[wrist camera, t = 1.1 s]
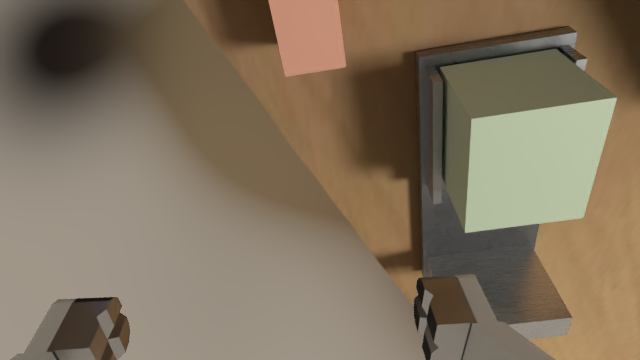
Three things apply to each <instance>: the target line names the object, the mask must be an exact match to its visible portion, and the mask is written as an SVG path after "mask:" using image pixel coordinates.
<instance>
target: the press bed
mask: <svg viewBox="0 0 640 360" xmlns="http://www.w3.org/2000/svg"><path fill="white" fill-rule="evenodd" d="M576 37H577V32H576V31H575V30H573V29H572V28H570V27H569V26H568V27H562V28H556V29H550V30H544V31H537V32H531V33H525V34H519V35H513V36H506V37H500V38H494V39H488V40H482V41H476V42H469V43H463V44H457V45H451V46H445V47H438V48H432V49H426V50H420V51H415V58H416V95H417V131H418V167H419V204H420V240H421V271H422V275H423V277H436V276H449V275H453V276H454V275H466V274H473V275H474V276H475V277H476V278H477V280H478V282H479V284H480V286H481V288H482V290H483V292H484V294H485V296H486V298H487V300H488V302H489V304H490V306H491V309H492V311H493V313H494V315H495V317H496V319H497V321H498V322H505V323H506V324H507V325H509V326H510V327H512V328H513V329H514V330H516V331H517V332H518V333H520V334H521V335H522V336H524V337H525V338H526V339H534V338H543V337H553V336H562V335H567V333H568V330H569V327H570V323H571V320H572V316H571V314H570V313H569V311H568V309H567V307H566V306H565V304H564V302H563V300H562V298H561V297H560V295H559V293H558V291H557V290H556V288H555V286H554V284H553V283H552V281H551V279H550V277H549V276H548V274H547V272H546V270H545V269H544V267H543V265H542V263H541V261H540V260H539V258H538V256H537V254H536V253H535V251H534V247H535V242H536V237H537V232H538V227H539V224H531V225H524V226H516V227H508V228H500V229H492V230H485V231H477V232H469V233H465V232H464V230H463V227H462V225H461V222H460V220H459V218H458V215H457V213H456V210H455V208H454V205H453V203H452V201H451V198H450V196H449V193H448V191H447V188H446V186H445V184H444V181H443V179H442V117H443V80H442V79H441V77H440V67H443V66H450V65H456V64H462V63H469V62H475V61H481V60H488V59H494V58H500V57H507V56H513V55H519V54H526V53H532V52H538V51H544V50H551V49H557V50H558V51H559V52H561V53H562V54H563V55H564V56H566V57H567V58H568V59H569V60H571V61H572V62H573V63H575V64H576V65H577V66H578V67H580V68H581V69H582V70H583V71H585V67H586V63H587V58H586V57H584V56H583V55H582V54H580V53H579V52H578V51H576V50H575V49H574V47H575V42H576Z"/></svg>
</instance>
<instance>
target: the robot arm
mask: <svg viewBox="0 0 640 360" xmlns="http://www.w3.org/2000/svg"><path fill="white" fill-rule="evenodd" d="M416 289H417V292H418V296H417V297H415V298H414V307H413V308H414V319H415V325H416V328H417V332H418V333H419V334H420V335H421V336H422V337H423V343H422V349H423V352H424V355H425V359H426V360H555V359H554V358H552V357H551V356H550V355H548V354H547V353H546V352H544V351H543V350H541V349H540V348H539V347H537V346H536V345H535V344H533V343H532V342H531V341H529V340H528V339H526V338H525V337H524V336H522V335H521V334H520V333H518V332H517V331H516V330H514V329H513V328H512V327H510V326H509V325H507V324H506V323H505V322H498V321H497V319H496V317H495V315H494V313H493V311H492V309H491V306H490V304H489V302H488V300H487V298H486V296H485V294H484V292H483V290H482V288H481V286H480V284H479V282H478V280H477V278H476V277H475V276H474V275H473V274H466V275H454V276H453V275H449V276H436V277H422V278H418V280H417V284H416ZM121 307H122V305H121V303H120V301H119V299H118V298H117V297H108V298H107V297H104V298H77V299H59V300H57V301H56V302H54V303H53V304H52V305H51V307H50V309H49V311H48V312H47V314H46V316H45V318H44V319H43V321H42V323H41V324H40V326H39V328H38V330H37V331H36V333H35V335H34V337H33V338H32V340H31V342H30V344H29V345H28V347H27V349H26V350H25V352H24V353H23V354H17V355H16V356H15V357H13V358H12V359H11V360H118V359H119V358H120V357H121V356H122V355H123V354H124V353H125V352H126V349H127V346H128V343H129V335H130V328H129V322H128V319H127V317H126V316H124V315H123V314H121V313H120V309H121Z"/></svg>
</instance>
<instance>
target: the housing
mask: <svg viewBox="0 0 640 360" xmlns="http://www.w3.org/2000/svg"><path fill="white" fill-rule="evenodd" d="M268 1H269V5H270V10H271V14H272V19H273V23H274V28H275V32H276V37H277V41H278V46H279V50H280V55H281V59H282V64H283V68H284V73H285V77H288V76H294V75H300V74H306V73H313V72H319V71H325V70H331V69H338V68H344V67H346V61H345V53H344V45H343V37H342V30H341V22H340V14H339V7H338V0H268Z"/></svg>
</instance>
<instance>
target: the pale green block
mask: <svg viewBox="0 0 640 360" xmlns="http://www.w3.org/2000/svg"><path fill="white" fill-rule="evenodd" d="M440 77H441V79H442V80H443V117H442V179H443V181H444V184H445V186H446V188H447V191H448V193H449V196H450V198H451V201H452V203H453V205H454V208H455V210H456V213H457V215H458V218H459V220H460V222H461V225H462V227H463V230H464V232H465V233H469V232H477V231H485V230H492V229H500V228H508V227H516V226H524V225H531V224H539V223H547V222H555V221H563V220H571V219H578V218H583V217H584V214H585V210H586V207H587V203H588V200H589V196H590V192H591V189H592V185H593V182H594V178H595V175H596V171H597V168H598V164H599V160H600V157H601V153H602V150H603V146H604V143H605V139H606V136H607V132H608V128H609V125H610V121H611V118H612V114H613V111H614V107H615V104H616V100H617V97H616V96H615V95H614V94H612V93H611V92H610V91H609V90H607V89H606V88H605V87H603V86H602V85H601V84H600V83H598V82H597V81H596V80H595V79H593V78H592V77H591V76H590V75H588V74H587V73H586V72H585V71H583V70H582V69H581V68H580V67H578V66H577V65H576V64H575V63H573V62H572V61H571V60H569V59H568V58H567V57H566V56H564V55H563V54H562V53H561V52H559V51H558V50H557V49H551V50H544V51H538V52H532V53H526V54H519V55H513V56H507V57H500V58H494V59H488V60H481V61H475V62H469V63H462V64H456V65H450V66H443V67H440Z"/></svg>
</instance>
